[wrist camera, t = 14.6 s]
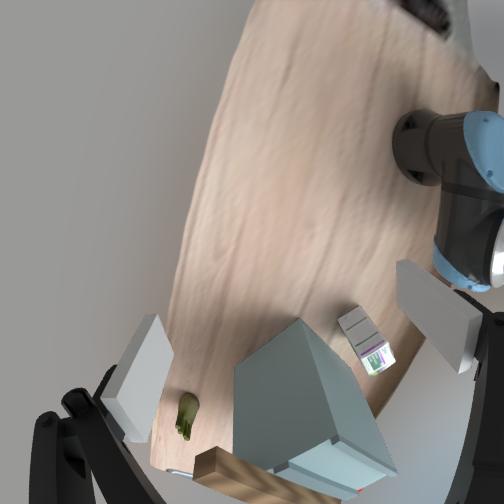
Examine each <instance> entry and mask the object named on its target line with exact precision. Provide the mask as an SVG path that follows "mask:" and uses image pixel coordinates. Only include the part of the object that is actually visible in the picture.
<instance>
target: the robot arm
mask: <svg viewBox="0 0 504 504" xmlns="http://www.w3.org/2000/svg"><path fill="white" fill-rule="evenodd" d="M393 152H394V157H395V160H396V162H397V165H398V166H399V168H400V170H401V171H402V173H403V174H404V175H405V176H406V177H407V178H408V179H409V180H411V181H412V182H414V183H416V184H420V185H424V186H436V185H440V184H442V186H441V196H440V206H439V214H438V222H437V229H436V234H435V236H434V250H433V263H434V266H435V268H436V270H437V271H438V272H439V273H440V274H441V275H442V276H443V277H444V278H445V279H447V280H448V281H450V282H451V283H453V284H455V285H457V286H459V287H461V288H468V289H469V290H471V291H475V292H484V291H486V290H488V289H489V288H490V287H491V286H492V287H495V288H498V287H500V286H502V285H503V284H504V118H503V117H502V116H500V115H499V114H497V113H495V112H491V111H479V110H473V111H470V112H464V113H457V114H450V115H441V114H438V113H435V112H433V111H429V110H416V111H412V112H409V113H407V114H406V115H404V116H403V117H402V118H401V119H400V120H399V122H398V123H397V125H396V127H395V130H394V134H393ZM396 273H397V306H398V307H399V308H400V309H401V310H402V311H403V312H404V314H405V315H406V316H407V317H408V318H409V319H410V320H411V321H412V322H413V323H414V324H415V325H416V327H417V328H418V329H419V330H420V331H421V332H422V333H423V334H424V335H425V337H426V338H427V339H428V340H429V341H430V342H431V343H432V344H433V346H434V347H435V348H436V349H437V350H438V351H439V352H440V354H441V355H442V356H443V357H444V358H445V359H446V360H447V362H448V363H449V364H450V365H451V366H452V368H453V369H454V370H455V371H456V372H457V373H458V374H460V373H462V372H464V371H466V370H468V369H470V368H471V367H472V363H473V359H474V357H475V358H476V359H477V360H478V361H479V363H478V367H477V370H476V374H475V378H474V381H476V383H475V390H474V396H473V402H472V408H471V413H470V419H469V423H468V428H467V433H466V437H465V441H464V445H463V449H462V453H461V456H460V460H459V463H458V467H457V470H456V473H455V476H454V479H453V482H452V485H451V488H450V491H449V494H448V496H447V499H446V501H445V503H444V504H504V312H495V313H492V312H491V311H490V310H488V309H487V308H486V307H484V306H483V305H482V304H480V303H479V302H477V301H476V300H475V299H474V298H472V297H471V296H470V295H468V294H467V293H465V292H463V291H460V290H457V289H455V290H451V289H450V288H449V287H447V286H446V285H445V284H443V283H442V282H441V281H439V280H438V279H436V278H435V277H434V276H432V275H431V274H429V273H428V272H427V271H425V270H424V269H422V268H421V267H420V266H418V265H417V264H415V263H414V262H412V261H411V260H409V259H408V258H407V259H404V260H400V261H396ZM173 357H174V352H173V350H172V348H171V345H170V343H169V341H168V338H167V336H166V333H165V331H164V329H163V326H162V324H161V321H160V319H159V316H158V314H153V315H148V316H145V317H144V319H143V321H142V323H141V324H140V326H139V328H138V329H137V331H136V333H135V335H134V336H133V338H132V340H131V342H130V343H129V345H128V347H127V349H126V351H125V352H124V354H123V356H122V358H121V360H120V362H119V363H118V365H113V366H112V367H111V368H110V369H109V370H108V371H107V372H106V374H105V376H104V377H103V380H102V381H101V383H100V386H98V388H97V390H96V392H95V394H94V395H93V397H91V396H90V394H89V393H88V391H87V390H86V389H84V388H75V389H73V390H71V391H69V392H67V393H66V394H65V395H64V396H63V398H62V400H61V404H62V406H63V407H64V409H65V410H66V411H67V413H68V414H69V416H70V417H68V418H63V419H60V417H59V416H58V415H57V414H56V413H55V412H53V411H49V412H46V413H43V414H42V415H40V416H39V418H38V419H37V420H36V423H35V428H34V435H33V443H32V452H31V464H30V481H29V504H96V501H95V496H94V489H93V483H92V475H91V471H92V473H93V475H94V477H95V480H96V482H97V484H98V486H99V488H100V490H101V492H102V494H103V496H104V498H105V500H106V502H107V504H166V502H165V501H164V500H163V498H162V497H161V496H160V494H159V493H158V492H157V490H156V489H155V488H154V486H153V485H152V484H151V482H150V481H149V479H148V478H147V476H146V475H145V474H144V472H143V471H142V469H141V468H140V466H139V465H138V463H137V462H136V460H135V459H134V457H133V455H132V454H131V452H130V451H129V449H128V447H127V446H126V444H125V443H124V442H123V439H124V436H125V435H126V436H127V437H128V439H129V440H130V441H131V442H133V443H134V442H135V443H147V441H148V437H149V434H150V430H151V427H152V424H153V420H154V417H155V414H156V410H157V407H158V404H159V401H160V397H161V394H162V391H163V388H164V385H165V381H166V378H167V375H168V372H169V369H170V366H171V363H172V360H173Z"/></svg>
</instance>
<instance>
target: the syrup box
mask: <svg viewBox="0 0 504 504" xmlns="http://www.w3.org/2000/svg"><path fill="white" fill-rule="evenodd" d="M337 320H338V322H339V324H340V326H341V328H342V330H343V332H344V334H345V335H346V337H347V339H348V341H349V343H350V344H351V346H352V348H353V350H354V352H355V353H356V355H357V356H358V358H359V360H360V361H361V363H362V365H363V366H364V368H365V370H366V372H367V373H368V375H369V377H372V376H374V375H376V374H378V373H380V372H381V371H383V370H385V369H386V368H387V367H389V366H390V365H392V364H393V363H394V362H396V361H395V358H394V355H393V352H392V350H391V348H390V345H389V343H388V341H387V340H386V339H385V337H384V336H383V335H382V333H381V332H380V331H379V329H378V328H377V327H376V325H375V324H374V323H373V322H372V320H371V319H370V318H369V316H368V315H367V314H366V313H365V311H364V310H363V309H362V308H361V306H358V307H357V308H355V309H353V310H351V311H350V312H348V313H347V314H345V315H343V316H342V317H340V318H339V319H337Z"/></svg>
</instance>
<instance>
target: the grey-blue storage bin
mask: <svg viewBox="0 0 504 504" xmlns="http://www.w3.org/2000/svg"><path fill="white" fill-rule="evenodd" d="M233 455H235V456H236V457H238V458H240V459H242V460H244V461H246V462H248V463H250V464H253V465H255V466H257V467H259V468H261V469H263V470H265V471H267V472H270V473H272V474H274V475H276V476H279V477H281V478H283V479H286V480H288V481H291V482H293V483H296V484H298V485H301V486H303V487H306V488H309V489H312V490H314V491H317V492H320V493H323V494H326V495H329V496H332V497H335V498H338V499H341V500H345V501H348V500H351V499H353V498H355V497H357V496H359V493H358V490H360V489H362V488H363V487H365V486H367V485H369V484H371V483H373V482H375V481H377V480H379V479H380V478H382V477H384V476H386V475H388V476H390V477H392V478H393V477H395V476H396V475H398V472H397V469H396V467H395V465H394V462H393V460H392V458H391V455H390V453H389V451H388V448H387V446H386V444H385V442H384V439H383V437H382V435H381V432H380V430H379V428H378V426H377V423H376V421H375V419H374V417H373V415H372V412H371V410H370V408H369V406H368V404H367V401H366V399H365V397H364V395H363V393H362V391H361V389H360V386H359V384H358V382H357V380H356V378H355V376H354V374H353V372H352V369H351V368H350V367H349V366H348V365H347V364H346V363H345V362H344V361H343V360H342V359H341V358H340V357H339V356H338V355H337V354H336V353H335V352H334V351H333V350H332V349H331V348H330V347H329V346H328V345H327V344H326V343H325V342H324V341H323V340H322V339H321V338H320V337H319V336H318V335H317V334H316V333H315V332H314V331H313V330H312V329H311V328H310V327H309V326H308V325H307V324H306V323H305V322H304V321H303V320H302V319H301V318H298V319H297V320H296V321H295V322H293V323H292V324H291V325H290V326H288V327H287V328H286V329H284V330H283V331H282V332H281V333H279V334H278V335H277V336H275V337H274V338H273V339H271V340H270V341H269V342H267V343H266V344H265V345H263V346H262V347H261V348H259V349H258V350H257V351H255V352H254V353H253V354H251V355H250V356H249V357H247V358H246V359H244V360H243V361H242V362H240V363H239V364H237V365H236V366H235V374H234V412H233Z"/></svg>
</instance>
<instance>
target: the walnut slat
mask: <svg viewBox="0 0 504 504" xmlns="http://www.w3.org/2000/svg"><path fill="white" fill-rule="evenodd" d="M193 481H195V482H197V483H199V484H202V485H204V486H206V487H208V488H211V489H213V490H215V491H218V492H220V493H223V494H225V495H228V496H231V497H233V498H236V499H238V500H241V501H244V502H247V503H249V504H341V503H340V499H338V498H335V497H332V496H329V495H326V494H323V493H320V492H317V491H314V490H312V489H309V488H306V487H303V486H301V485H298V484H296V483H293V482H291V481H288V480H286V479H283V478H281V477H279V476H276V475H274V474H272V473H270V472H267V471H265V470H263V469H261V468H259V467H257V466H255V465H253V464H250V463H248V462H246V461H244V460H242V459H240V458H238V457H236V456H235V455H233V454H231V453H229V452H227V451H225V450H223V449H221V448H220V447H218V446H216V447H214V448H212V449H210V450H207V451H205V452H203V453H201V454H199V455H197V456H195V464H194V472H193Z"/></svg>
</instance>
